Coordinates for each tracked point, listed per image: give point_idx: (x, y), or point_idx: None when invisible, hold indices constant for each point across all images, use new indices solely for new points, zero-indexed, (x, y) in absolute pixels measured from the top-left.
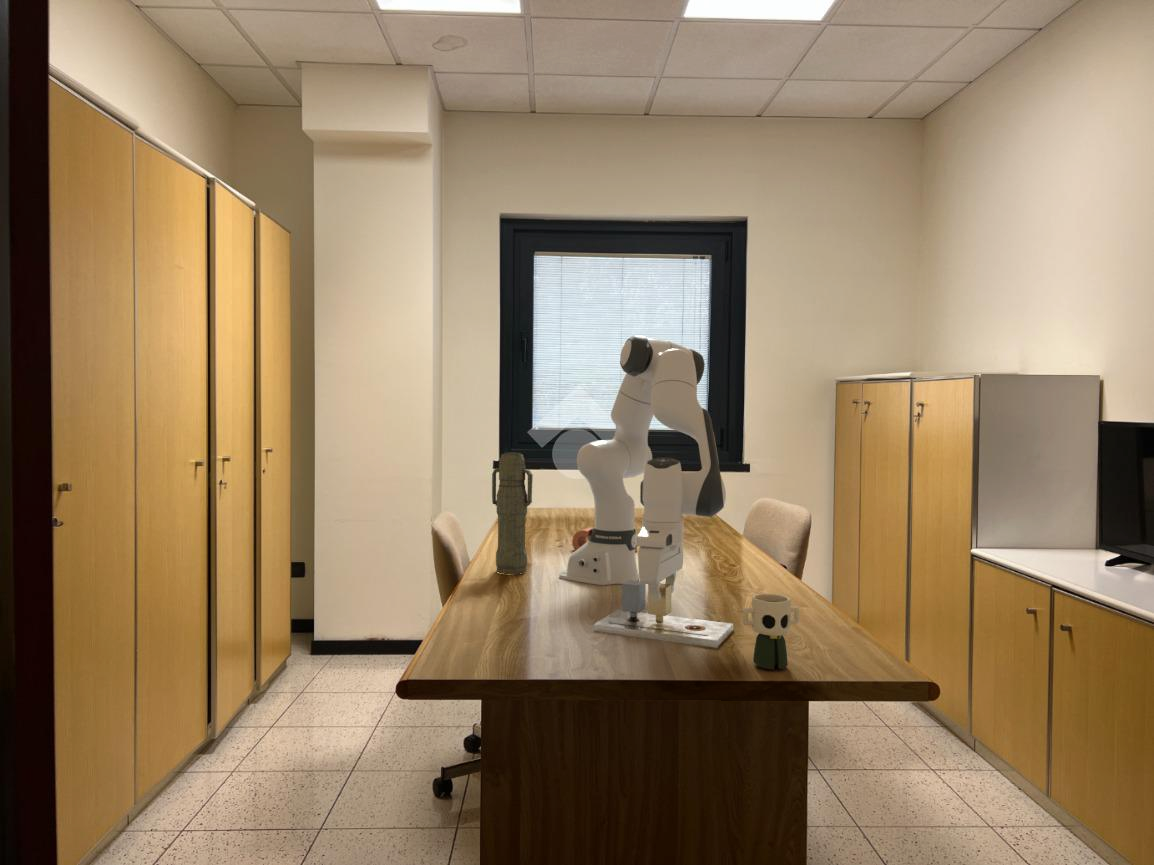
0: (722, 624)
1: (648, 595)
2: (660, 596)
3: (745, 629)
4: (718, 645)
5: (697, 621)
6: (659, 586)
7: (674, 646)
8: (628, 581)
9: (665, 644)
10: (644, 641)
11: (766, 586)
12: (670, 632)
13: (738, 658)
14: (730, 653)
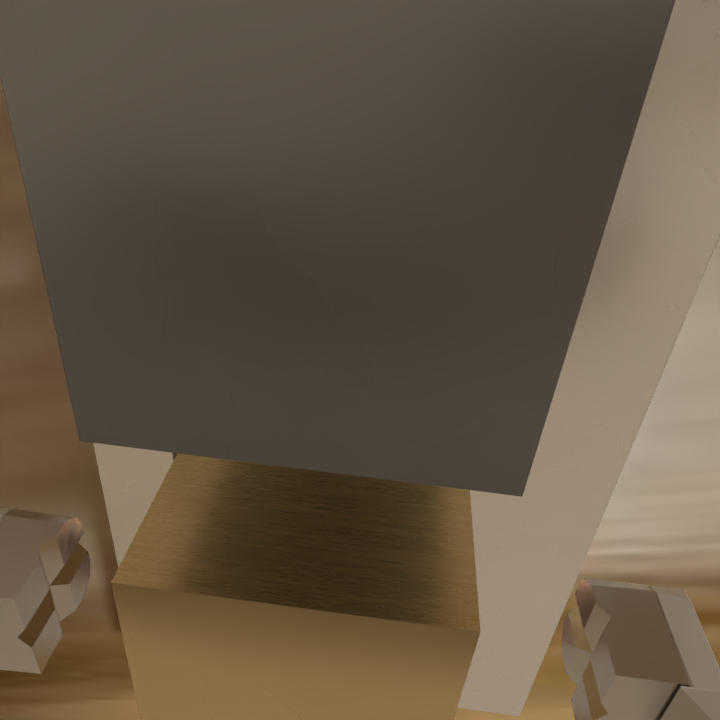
0: (483, 679)
1: (172, 466)
2: (56, 632)
3: (557, 712)
4: None
5: (514, 574)
6: (212, 704)
7: (45, 463)
8: (404, 39)
9: (48, 413)
10: (16, 276)
11: None
12: (141, 461)
13: (62, 686)
14: (109, 666)
